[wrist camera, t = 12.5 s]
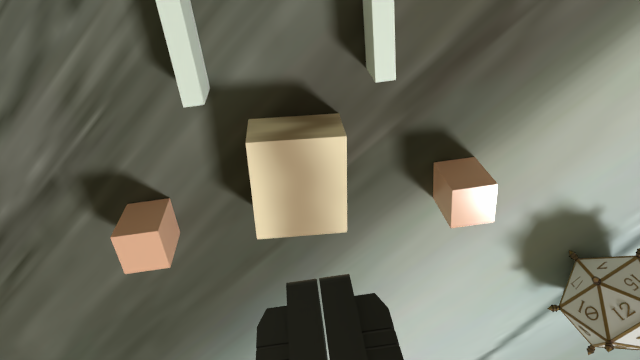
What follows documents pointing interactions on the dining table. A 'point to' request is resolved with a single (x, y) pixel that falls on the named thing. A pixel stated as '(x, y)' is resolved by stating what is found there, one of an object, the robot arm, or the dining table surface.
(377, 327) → the robot arm
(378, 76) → the white blocks
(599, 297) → the game die
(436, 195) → the gate posts
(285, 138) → the maple block
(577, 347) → the dining table surface
